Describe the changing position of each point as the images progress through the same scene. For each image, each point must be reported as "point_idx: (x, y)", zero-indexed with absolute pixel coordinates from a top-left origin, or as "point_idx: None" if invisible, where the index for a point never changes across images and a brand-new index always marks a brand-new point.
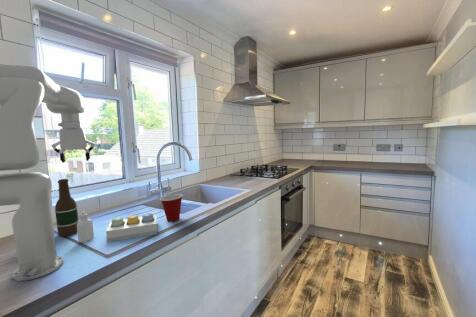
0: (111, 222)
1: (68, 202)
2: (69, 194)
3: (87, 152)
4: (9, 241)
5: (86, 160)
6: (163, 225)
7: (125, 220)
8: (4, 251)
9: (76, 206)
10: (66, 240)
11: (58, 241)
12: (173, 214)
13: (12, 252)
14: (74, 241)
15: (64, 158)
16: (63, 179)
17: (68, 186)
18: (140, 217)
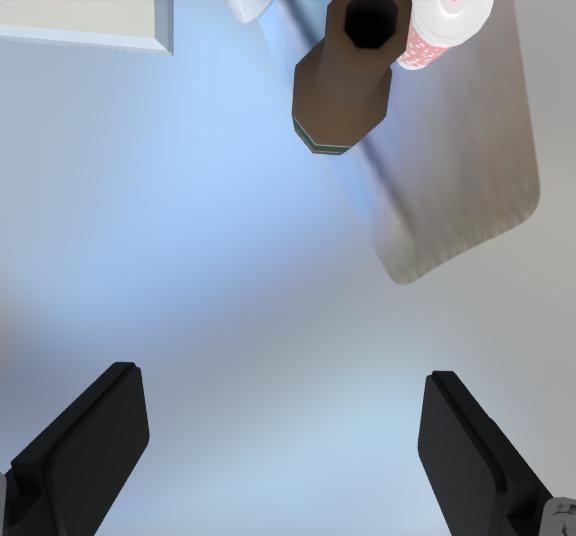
0: (148, 10)
1: (322, 41)
2: (319, 67)
3: (14, 492)
4: (519, 145)
5: (136, 368)
6: None
7: (89, 3)
8: (518, 35)
9: (292, 106)
10: None
11: None
12: None
13: None
14: (296, 3)
15: (441, 463)
16: (369, 50)
17: (325, 61)
18: (27, 13)
